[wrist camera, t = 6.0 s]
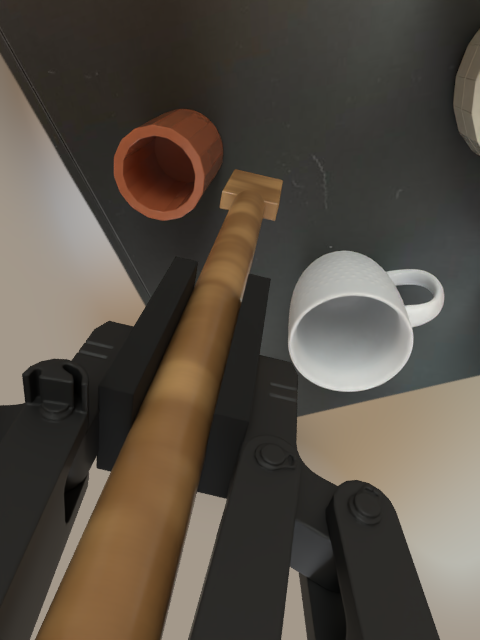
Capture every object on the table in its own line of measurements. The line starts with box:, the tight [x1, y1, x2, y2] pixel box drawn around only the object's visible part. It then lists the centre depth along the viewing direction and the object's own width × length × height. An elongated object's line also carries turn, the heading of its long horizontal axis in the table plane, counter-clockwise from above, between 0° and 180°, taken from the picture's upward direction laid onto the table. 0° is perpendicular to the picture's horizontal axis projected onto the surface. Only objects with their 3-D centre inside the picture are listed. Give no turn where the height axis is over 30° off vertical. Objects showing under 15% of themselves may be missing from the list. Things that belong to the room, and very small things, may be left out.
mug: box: [288, 250, 444, 392], centre depth 44 cm, size 15×11×13 cm
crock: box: [114, 109, 223, 221], centre depth 40 cm, size 8×8×10 cm
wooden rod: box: [35, 169, 283, 640], centre depth 17 cm, size 3×2×27 cm, turn 79°
